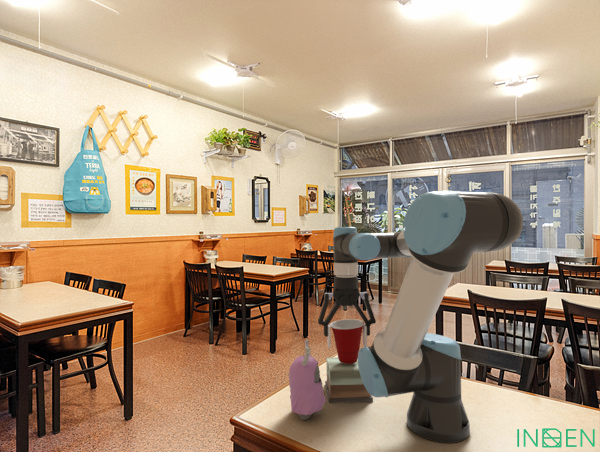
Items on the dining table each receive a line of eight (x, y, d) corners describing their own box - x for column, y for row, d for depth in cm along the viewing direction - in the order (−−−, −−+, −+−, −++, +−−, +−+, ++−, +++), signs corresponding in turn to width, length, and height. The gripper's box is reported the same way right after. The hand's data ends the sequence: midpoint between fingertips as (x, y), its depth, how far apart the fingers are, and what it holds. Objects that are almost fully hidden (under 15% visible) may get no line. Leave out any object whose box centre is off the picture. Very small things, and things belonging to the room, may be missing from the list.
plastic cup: (330, 354, 122) (330, 317, 122) (364, 355, 120) (363, 318, 120) (328, 366, 111) (328, 326, 111) (365, 367, 109) (364, 327, 110)
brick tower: (372, 401, 109) (372, 371, 109) (329, 402, 109) (328, 372, 109) (364, 383, 122) (363, 356, 122) (325, 384, 122) (324, 357, 122)
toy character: (323, 427, 95) (322, 350, 95) (284, 424, 97) (283, 348, 97) (329, 405, 107) (328, 336, 107) (294, 402, 109) (293, 335, 109)
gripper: (379, 273, 120) (380, 341, 120) (308, 275, 119) (309, 343, 119) (385, 276, 112) (386, 349, 112) (309, 278, 112) (310, 350, 111)
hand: (347, 346), depth 115 cm, fingers closed on plastic cup, 11 cm apart
